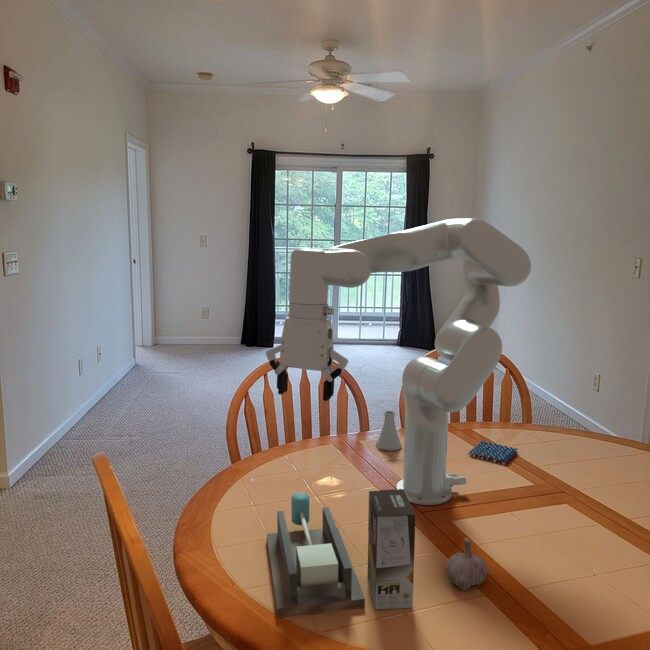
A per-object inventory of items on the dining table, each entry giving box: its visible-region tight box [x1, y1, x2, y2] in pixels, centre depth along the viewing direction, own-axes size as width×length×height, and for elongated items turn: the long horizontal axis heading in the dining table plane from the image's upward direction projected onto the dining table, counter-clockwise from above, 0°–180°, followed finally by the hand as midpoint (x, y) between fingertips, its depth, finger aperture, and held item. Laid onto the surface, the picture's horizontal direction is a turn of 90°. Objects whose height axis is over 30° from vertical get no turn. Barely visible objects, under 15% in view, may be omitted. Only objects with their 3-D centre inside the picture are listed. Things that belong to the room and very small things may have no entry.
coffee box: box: [366, 488, 417, 610], centre depth 93 cm, size 9×6×16 cm
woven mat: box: [467, 440, 519, 466], centre depth 151 cm, size 10×11×2 cm
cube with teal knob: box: [290, 492, 338, 587], centre depth 102 cm, size 6×25×5 cm, turn 10°
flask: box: [375, 410, 403, 452], centre depth 155 cm, size 7×7×10 cm
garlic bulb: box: [446, 537, 488, 591], centre depth 96 cm, size 8×7×8 cm
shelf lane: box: [266, 506, 366, 618], centre depth 99 cm, size 14×22×6 cm, turn 10°
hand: (304, 396), depth 113 cm, fingers open, 9 cm apart
